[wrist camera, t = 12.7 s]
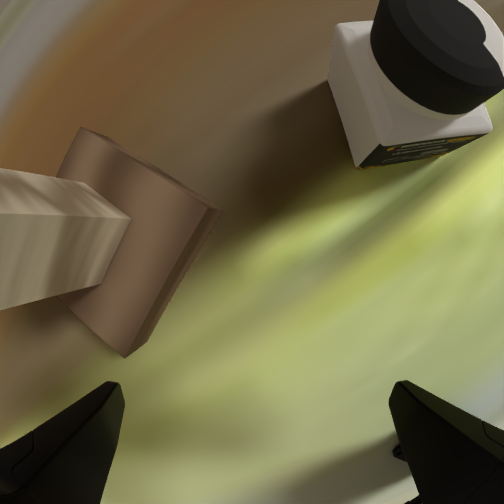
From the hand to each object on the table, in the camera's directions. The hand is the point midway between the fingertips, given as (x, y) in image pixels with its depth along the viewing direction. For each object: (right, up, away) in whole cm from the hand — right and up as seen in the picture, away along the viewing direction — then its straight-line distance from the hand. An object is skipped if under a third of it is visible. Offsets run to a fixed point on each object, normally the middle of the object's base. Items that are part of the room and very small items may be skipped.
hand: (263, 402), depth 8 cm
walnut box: (-10, +6, +14) cm, 18 cm away
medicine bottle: (+9, +14, +10) cm, 20 cm away
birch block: (-11, +6, +10) cm, 16 cm away
